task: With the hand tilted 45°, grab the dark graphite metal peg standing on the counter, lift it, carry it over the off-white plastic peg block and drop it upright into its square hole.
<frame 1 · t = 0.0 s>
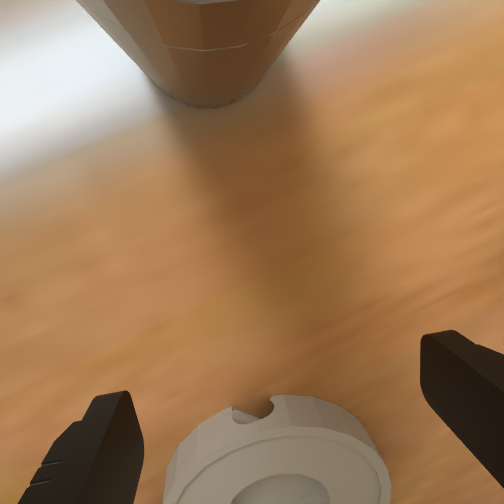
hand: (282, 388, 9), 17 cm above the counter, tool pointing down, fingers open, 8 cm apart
ashtray: (272, 474, 35), on the counter
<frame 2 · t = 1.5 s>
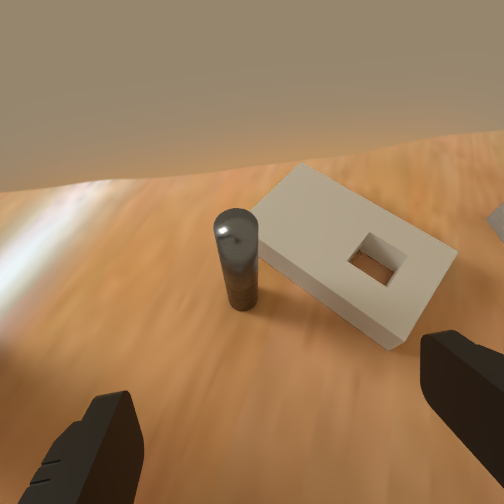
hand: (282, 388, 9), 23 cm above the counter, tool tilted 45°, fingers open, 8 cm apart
peg block: (336, 255, 37), on the counter
graphite peg: (243, 297, 35), on the counter
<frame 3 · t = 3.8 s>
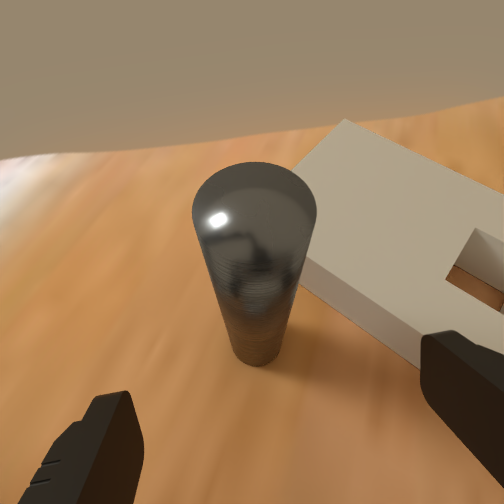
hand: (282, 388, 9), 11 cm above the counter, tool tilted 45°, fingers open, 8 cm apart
peg block: (406, 266, 23), on the counter
graphite peg: (256, 340, 20), on the counter
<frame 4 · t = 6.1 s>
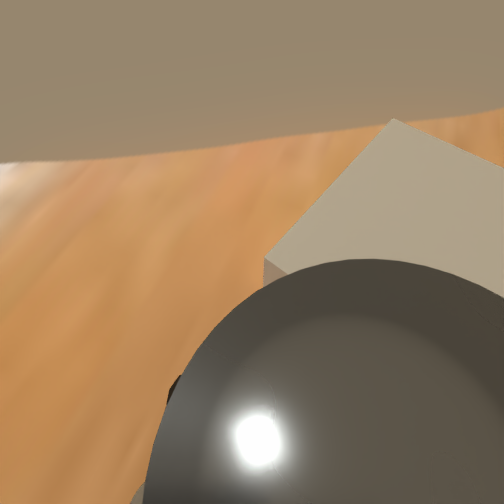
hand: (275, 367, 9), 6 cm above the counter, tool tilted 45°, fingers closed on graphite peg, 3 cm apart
peg block: (484, 322, 16), on the counter
graphite peg: (279, 438, 14), on the counter, touching gripper
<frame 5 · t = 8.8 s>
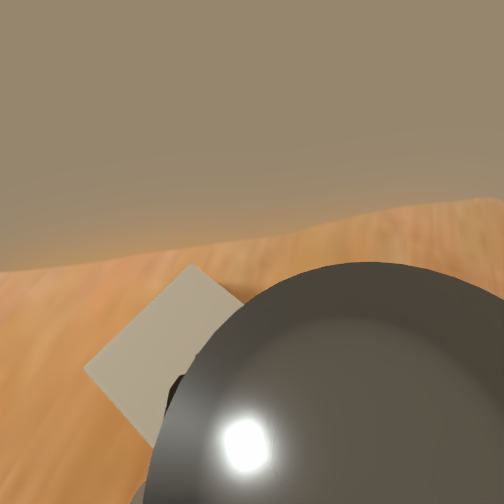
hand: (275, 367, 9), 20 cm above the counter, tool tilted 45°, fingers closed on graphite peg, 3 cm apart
peg block: (232, 397, 27), on the counter
graphite peg: (279, 439, 14), point 13 cm above the counter, touching gripper
when the fingers open (9 cm above the counter, at t = 11.5 s): graphite peg drops 2 cm, resting in peg block.
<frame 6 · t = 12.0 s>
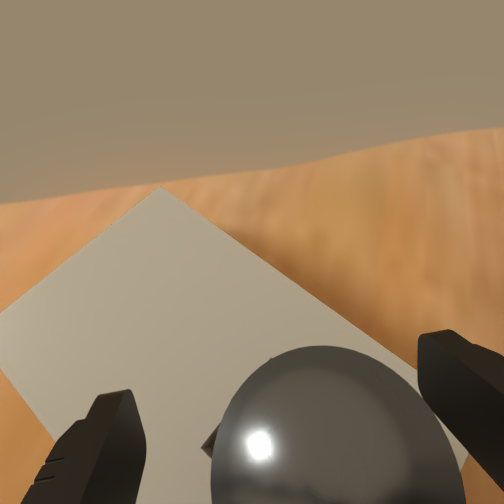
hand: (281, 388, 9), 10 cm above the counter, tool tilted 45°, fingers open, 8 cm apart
peg block: (219, 383, 18), on the counter
graphite peg: (276, 439, 16), resting in peg block
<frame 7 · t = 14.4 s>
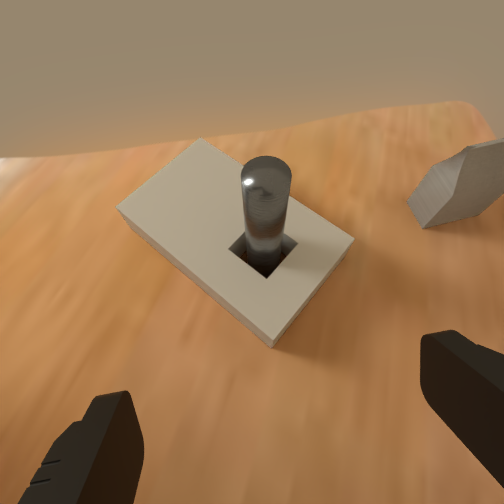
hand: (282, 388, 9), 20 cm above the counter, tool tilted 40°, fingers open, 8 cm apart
peg block: (233, 241, 34), on the counter
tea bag: (441, 209, 35), on the counter
graphite peg: (263, 264, 32), resting in peg block
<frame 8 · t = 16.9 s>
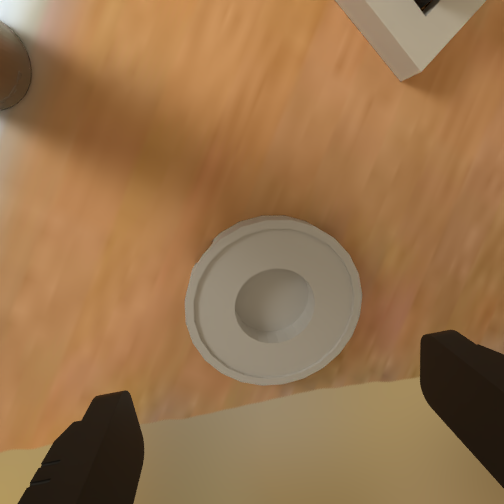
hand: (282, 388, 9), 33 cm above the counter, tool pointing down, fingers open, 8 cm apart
ashtray: (270, 295, 44), on the counter
graphite peg: (406, 1, 36), resting in peg block
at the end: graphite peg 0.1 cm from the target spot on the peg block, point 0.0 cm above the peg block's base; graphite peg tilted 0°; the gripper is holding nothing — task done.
